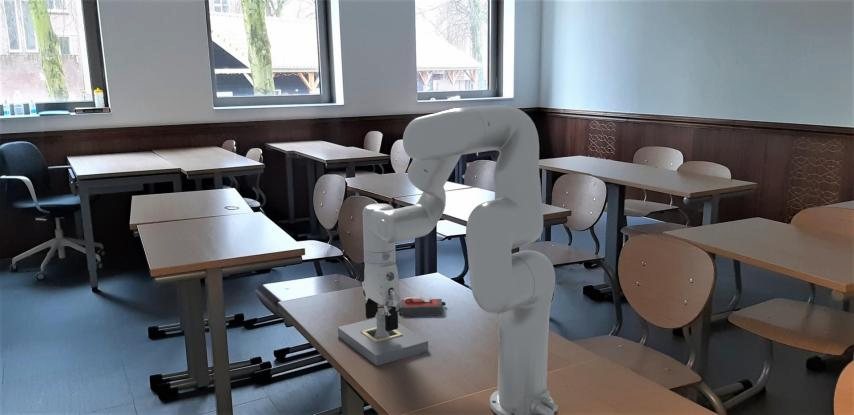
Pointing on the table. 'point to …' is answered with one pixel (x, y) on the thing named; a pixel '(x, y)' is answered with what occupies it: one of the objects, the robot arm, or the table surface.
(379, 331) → the rook chess piece
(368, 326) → the socket board
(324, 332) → the table surface
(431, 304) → the red gray switch box
